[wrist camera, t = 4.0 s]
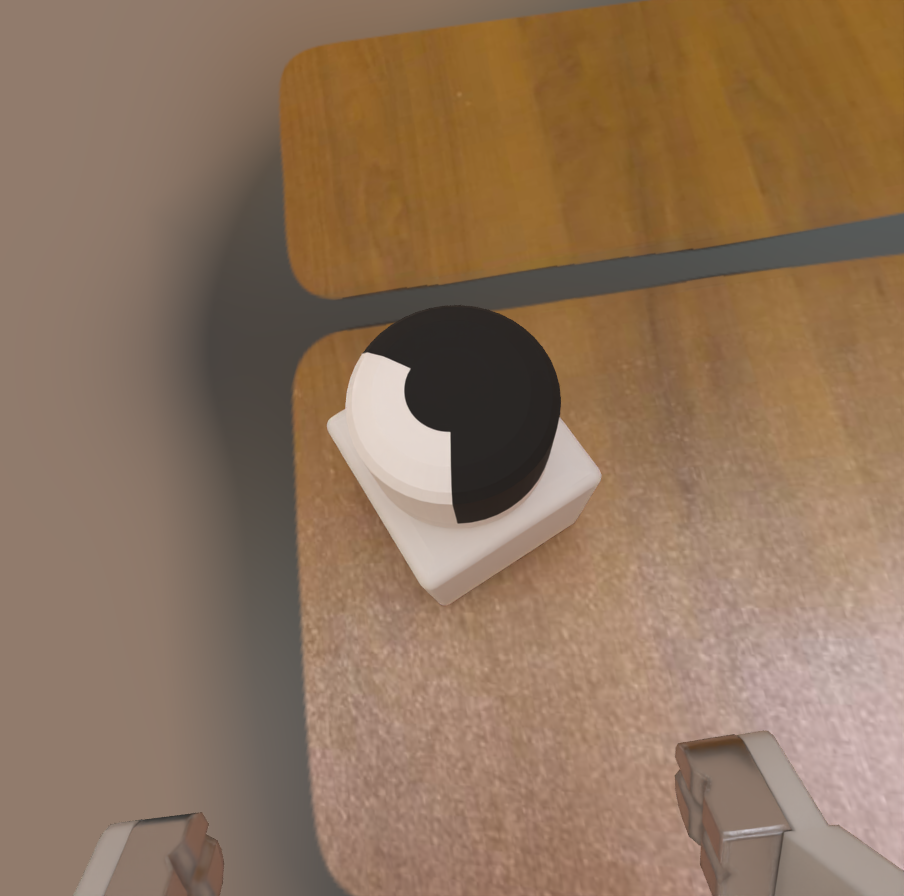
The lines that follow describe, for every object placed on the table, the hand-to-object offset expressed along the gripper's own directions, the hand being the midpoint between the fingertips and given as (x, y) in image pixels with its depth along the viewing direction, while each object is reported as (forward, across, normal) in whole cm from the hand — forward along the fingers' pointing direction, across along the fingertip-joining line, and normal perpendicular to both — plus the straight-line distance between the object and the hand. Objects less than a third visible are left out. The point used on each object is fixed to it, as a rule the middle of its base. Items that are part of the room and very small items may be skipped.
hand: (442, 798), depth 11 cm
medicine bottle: (+17, -1, +4) cm, 18 cm away
